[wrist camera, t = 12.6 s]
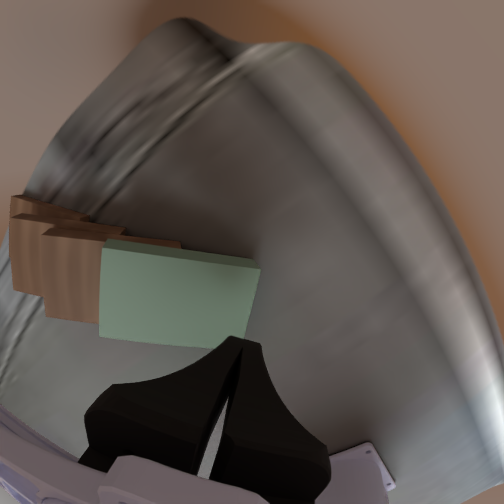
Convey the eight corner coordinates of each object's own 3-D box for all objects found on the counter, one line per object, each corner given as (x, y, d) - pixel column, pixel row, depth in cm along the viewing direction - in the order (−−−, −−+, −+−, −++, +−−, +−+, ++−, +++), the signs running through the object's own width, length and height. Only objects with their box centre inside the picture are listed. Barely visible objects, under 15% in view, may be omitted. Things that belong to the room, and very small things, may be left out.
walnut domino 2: (119, 233, 16) (9, 217, 14) (116, 311, 17) (13, 289, 16) (125, 227, 18) (21, 213, 16) (121, 300, 19) (23, 281, 17)
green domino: (261, 269, 16) (102, 247, 13) (240, 349, 17) (99, 336, 14) (252, 259, 17) (107, 238, 15) (234, 334, 18) (103, 321, 16)
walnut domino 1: (80, 217, 17) (10, 196, 17) (75, 288, 18) (9, 256, 19) (94, 214, 18) (24, 194, 19) (88, 281, 20) (22, 252, 20)
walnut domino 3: (181, 249, 16) (41, 234, 13) (172, 330, 17) (45, 316, 15) (180, 241, 17) (50, 227, 15) (171, 317, 19) (53, 304, 16)
